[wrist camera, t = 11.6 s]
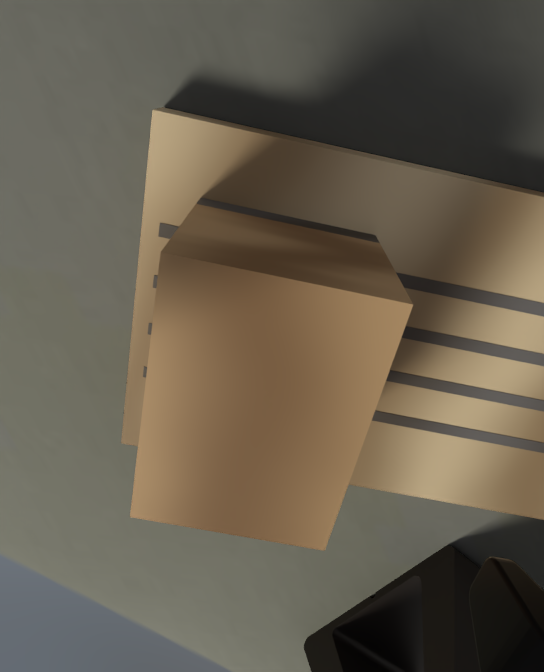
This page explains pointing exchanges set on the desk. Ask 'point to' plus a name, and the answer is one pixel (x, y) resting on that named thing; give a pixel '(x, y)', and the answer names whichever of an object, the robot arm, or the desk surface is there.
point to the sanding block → (263, 372)
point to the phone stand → (406, 624)
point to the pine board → (420, 284)
